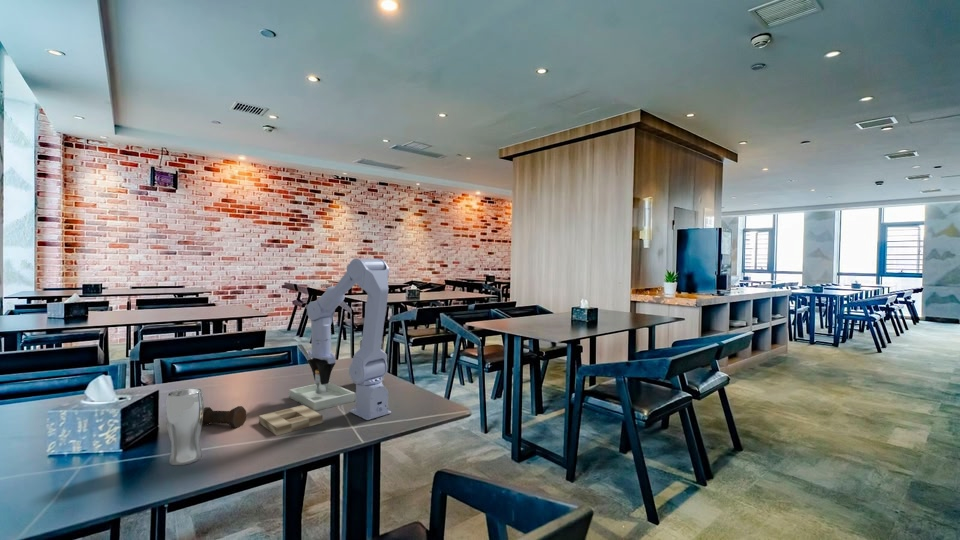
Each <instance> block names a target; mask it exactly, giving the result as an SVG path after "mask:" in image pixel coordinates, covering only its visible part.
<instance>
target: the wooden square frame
mask: <svg viewBox="0 0 960 540" xmlns="http://www.w3.org/2000/svg"><path fill="white" fill-rule="evenodd" d="M323 419H324V418H323V415H322V414H320V413H319V412H317V411H314V410H312V409H310V408H308V407H306V406H304V405H302V404H301V405H297V406H293V407H290V408H285V409H281V410H276V411H274V412H273V411H271V412H268V413H265V414H260V415H258V421H259V422H258V424H260V425H261V426H263V427H264V428H265V429H267V430H268V431H270V432H271V433H272V434H274V435H275V436H280V435H284V434H287V433H291V432H296V431H298V429H299V430H301V429H306V428H308V427H312V426H316V425H320V424H323V423H324V422H323Z"/></svg>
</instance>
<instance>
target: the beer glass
mask: <svg viewBox="0 0 960 540" xmlns="http://www.w3.org/2000/svg"><path fill="white" fill-rule="evenodd" d="M204 408H205V405H204V395H203V388H201V387H185V388H180V389H174V390H172V391H169V392H167V394H166V400H165V421H166V427H167V431H168V436H169V440H170V447H171V448H170V456H169V461H168V462H169V464H170V465H171V466H179V467H180V466H185V465H189V464H193V463H195V462H198V461H200V459H202V457H203V450H202V447H201V433H202V427H203V426H202V423H203V416H204Z"/></svg>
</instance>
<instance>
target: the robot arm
mask: <svg viewBox="0 0 960 540" xmlns="http://www.w3.org/2000/svg"><path fill="white" fill-rule="evenodd" d="M389 273H390V267H389V266H388V264H387V263H386V260H384V259H382V258H353V259H352V260H351V261H350V262H349V264H347V265H346V272H345V273H344V274H343V276H342V277H341V278H340V280H339V281H338V282H337V284H336V285H332V286H327V288H326V289H325V292H324V293H323V294H322V295H321V296H319V297H318V299H317V300H315V301H310V302H309V303H308V305H307V308H306V315H307V316H308V319H309V320H310V322H311V323H310V324H311V326H310V328H311V331H310V332H311V336H310V337H311V349H308V350H307V352H308V353H307V358H309V359H308V360H307V364H309V366H310V368H311V371H312V376H313V379H314V381H315V370H316V369H318V370H319V374H320V382H321V384H322V385H324V384H328V383H329V382H330V378H331V374H332V371H333V369H334V367H335V365H336V356H335V355H334V353H333V352H332V335H331V334H332V331H331V330H332V329H331V328H332V326H331V325H332V324H333V318H334V316H335V311H336V309H337V308H338V306H340V305H341V304H342V302H343V301H344V300H345V297H346V295H345V294H346V293H347V292H349V290H350V289H352V288H353V287H354V286H355V285H356V284H357V286H358V287H359V288H361V289H362V290H363V291H365V293H366V294H367V298H366V303H365V304H366V305H365V312H364V313H365V314H364V320H363V330H362V336H361V340H362V343H361V348H360V347H359V349H358V350H357V351H356V352H355V353H354V355H353V356H352V362H351V363H350V365H349V369H348V373H349V374H348V375H349V376H350V379H351V381H352V382H353V384H355V408H354V409H350V410H349V413H352V414H353V415H356V416H358V417H359V418H362V419H364V420H366V421H369V420H373V419H375V418H380V417H382V416H386V415H389V414H391V413H392V411H391V410H390V409H389V390H388V389H387V387H386V386H384V384H383V382H382V380H383V379H384V380H385V375H387V373H388V362H387V357H388V354H387V353H386V352H385V351H383V350H381V342H382V337H383V335H384V326H385V320H386V319H385V318H386V313H387V311H386V310H387V304H388V298H389V297H388V296H389V283H388V281H389Z"/></svg>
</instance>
